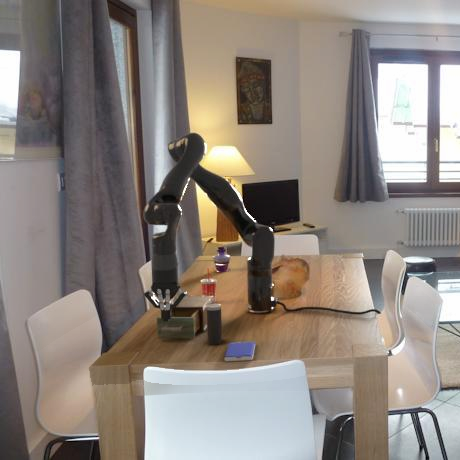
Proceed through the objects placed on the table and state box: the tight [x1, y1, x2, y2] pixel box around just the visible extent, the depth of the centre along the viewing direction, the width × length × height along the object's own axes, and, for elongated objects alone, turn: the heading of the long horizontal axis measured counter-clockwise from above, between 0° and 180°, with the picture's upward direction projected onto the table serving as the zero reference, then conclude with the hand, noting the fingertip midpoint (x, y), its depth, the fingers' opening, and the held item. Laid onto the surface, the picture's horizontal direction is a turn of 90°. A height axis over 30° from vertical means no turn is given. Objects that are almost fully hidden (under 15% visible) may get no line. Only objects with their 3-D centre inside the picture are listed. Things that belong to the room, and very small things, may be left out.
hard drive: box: [224, 341, 256, 362], centre depth 195 cm, size 2×8×12 cm
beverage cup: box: [200, 267, 218, 304], centre depth 248 cm, size 6×6×14 cm
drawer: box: [156, 310, 201, 339], centre depth 208 cm, size 18×12×7 cm, turn 4°
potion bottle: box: [212, 245, 231, 273], centre depth 302 cm, size 9×9×12 cm
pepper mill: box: [206, 303, 223, 346], centre depth 203 cm, size 4×4×12 cm
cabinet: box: [172, 294, 215, 333], centre depth 220 cm, size 15×13×9 cm
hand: (166, 320), depth 196 cm, fingers closed
